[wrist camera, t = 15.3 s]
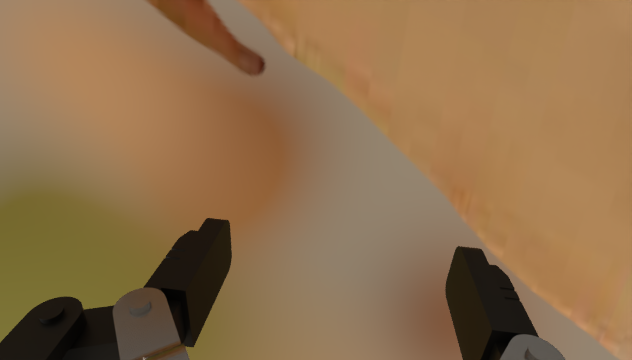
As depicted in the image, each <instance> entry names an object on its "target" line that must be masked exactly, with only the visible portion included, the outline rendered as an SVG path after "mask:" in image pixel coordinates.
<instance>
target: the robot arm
mask: <svg viewBox="0 0 632 360" xmlns="http://www.w3.org/2000/svg"><path fill="white" fill-rule="evenodd" d="M231 258H232V252H231V236H230V223H229V221H228V220H221V219H212V218H207V219H206V220H205V222H204V223H203V224H202V226H201V227H200V229H199V231H193V230H191V231H189V232H187V233H186V234H184V235H183V236H182V237H180V238H179V239H178V240H177V242H176V243H175V244H174V246H173V247H172V250H170V251H169V253H168V254H167V255H166V258H165V259H164V260H163V261H162V262H161V264H160V265H159V267H158V268H157V269H156V271H155V272H154V274H153V275H152V276H151V278H150V279H149V280H148V282H147V283H146V285H145V286H144V287H143V288H140V289H136V290H133V291H131V292H129V293H127V294H125V295H124V296H123V297H121V298H120V299H119V300H118V301H117V302H116V304H115V305H114V306H108V307H100V308H93V309H86V310H83V307H82V304H81V302H80V301H79V300H78V299H76V298H73V297H58V298H54V299H51V300H48V301H45V302H43V303H41V304H39V305H38V306H36V307H35V308H33V309H32V310H31V311H30V312H29V313H28V314H27V315H26V316H25V317H24V318H23V319H22V320H21V321H20V322H19V323H18V324H17V325H16V326H15V327H14V328H13V330H12V331H11V332H10V333H9V334H8V335H7V336H6V337H5V338H4V339H3V340H2V341H1V343H0V360H189V357H188V354H187V351H186V348H185V346H187V347H194V345H195V343H196V341H197V339H198V336H199V334H200V332H201V330H202V328H203V326H204V323H205V321H206V319H207V317H208V315H209V313H210V310H211V308H212V306H213V304H214V302H215V300H216V297H217V295H218V293H219V291H220V289H221V286H222V285H223V282H224V280H225V278H226V276H227V274H228V272H229V268H230V265H231ZM446 298H447V302H448V306H449V310H450V313H451V317H452V321H453V325H454V328H455V332H456V336H457V339H458V343H459V347H460V350H461V354H462V358H463V360H565V358H564V357H563V355H562V354H561V353H560V352H559V351H558V350H557V349H556V348H555V347H554V346H553V345H551V344H550V343H548V342H547V341H545V340H543V339H541V338H539V336H538V335H537V333H536V330H535V328H534V326H533V324H532V322H531V320H530V319H529V317H528V315H527V313H526V311H525V309H524V307H523V305H522V303H521V302H520V301H519V297H518V295H517V293H516V292H515V291H514V287H513V285H512V283H511V281H510V279H509V277H508V276H507V275H506V274H505V273H504V272H503V271H502V270H501V269H500V268H499V267H498V266H496V265H489V263H488V261H487V259H486V257H485V255H484V253H483V251H482V250H481V249H478V248H469V247H460V246H458V247H457V248H456V250H455V253H454V256H453V260H452V263H451V267H450V270H449V273H448V277H447V281H446Z"/></svg>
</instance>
